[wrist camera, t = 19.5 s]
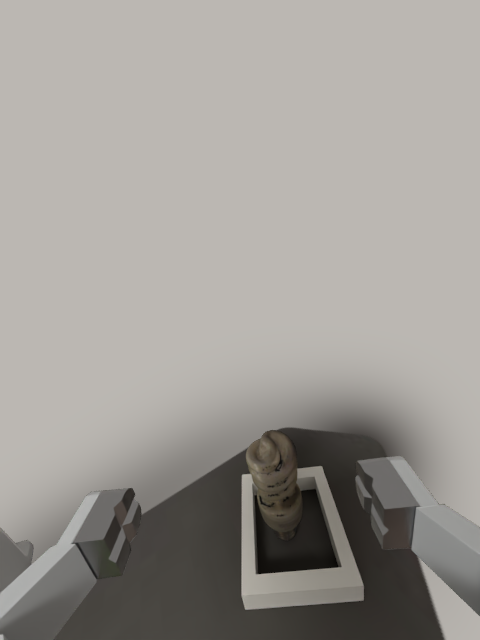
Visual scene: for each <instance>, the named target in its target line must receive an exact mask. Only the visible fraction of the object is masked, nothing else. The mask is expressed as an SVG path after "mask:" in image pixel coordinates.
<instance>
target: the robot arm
mask: <svg viewBox="0 0 480 640" xmlns="http://www.w3.org/2000/svg"><path fill="white" fill-rule="evenodd" d="M355 469H356V471H357V473H358V476H357V477H356V478H355V484H356V489H357V494H358V497H359V500H360V502H361V504H362V507H363V509H364V510H365V511H366V512H367V513H368V514H369V515H370V516H371V526H372V528H373V531H374V533H375V535H376V537H377V539H378V541H379V543H380V546H381V548H382V550H388V549H403V548H411V550H412V551H413V552H414V553H415V554H416V555H417V556H418V557H419V558H420V559H421V560H422V561H423V562H424V563H425V564H426V565H428V567H430V568H431V569H432V570H433V571H434V572H435V573H436V574H437V575H438V576H439V577H440V578H441V579H442V580H443V581H444V582H445V583H446V584H447V585H448V586H449V587H450V588H451V589H452V590H453V591H454V592H455V593H456V594H457V595H458V596H459V597H460V598H461V599H463V600H464V601H465V602H466V603H467V604H468V605H469V606H470V607H471V608H472V609H473V610H474V611H475V612H476V613H477V614H478V615H479V616H480V527H478V526H477V525H475V524H474V523H472V522H471V521H469V520H468V519H466V518H465V517H463V516H462V515H460V514H459V513H457V512H456V511H454V510H453V509H451V508H449V507H448V506H446V505H445V504H440V505H439V503H438V502H437V501H436V499H435V498H434V497H433V495H432V494H431V493H430V492H429V490H428V489H427V488H426V486H425V485H424V484H423V482H422V481H421V480H420V478H419V477H418V476H417V474H416V473H415V472H414V471H413V469H412V468H411V467H410V465H409V464H408V463H407V461H406V460H405V459H404V458H403V457H402V456H394V457H386V458H384V457H382V458H375V459H368V460H360V461H356V463H355ZM134 496H135V493H134V491H133V489H132V488H128V489H116V490H104V491H95V492H90V493H89V494H88V495H87V496H86V497H85V498H84V500H83V501H82V503H81V505H80V506H79V508H78V510H77V511H76V513H75V515H74V516H73V518H72V520H71V521H70V523H69V525H68V526H67V528H66V530H65V531H64V533H63V535H62V536H61V538H60V539H59V541H58V543H57V544H56V546H51V547H50V548H49V549H48V550H47V551H46V552H45V553H43V554H42V555H41V556H40V557H39V558H38V559H37V560H36V561H35V562H34V563H33V564H31V560H32V555H33V545H32V544H31V543H30V542H29V541H27V540H26V541H22V542H19V543H15V542H13V541H12V539H11V538H10V537H9V536H8V535H7V534H6V533H5V532H4V531H3V530H2V529H1V528H0V640H53V639H54V638H55V636H56V635H57V634H58V632H59V631H60V630H61V628H62V627H63V626H64V624H65V623H66V622H67V620H68V619H69V618H70V616H71V615H72V614H73V613H74V611H75V610H76V609H77V607H78V606H79V605H80V603H81V602H82V601H83V599H84V598H85V597H86V595H87V594H88V593H89V591H90V590H91V589H92V587H93V586H94V585H95V583H96V582H97V580H96V579H102V578H109V577H116V576H122V575H123V572H124V570H125V567H126V564H127V561H128V558H129V555H130V553H131V546H130V542H131V541H132V540H133V538H134V537H135V536H136V535H137V533H138V529H139V526H140V522H141V507H140V505H139V503H138V502H137V501H135V500H134Z"/></svg>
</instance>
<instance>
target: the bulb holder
mask: <svg viewBox="0 0 480 640" xmlns="http://www.w3.org/2000/svg"><path fill="white" fill-rule="evenodd" d="M296 483H297V484H298V485H299V487H300V490H301V491H302V490H312V489H316V492H317V496H318V499H319V503H320V506H321V509H322V513H323V516H324V520H325V523H326V526H327V530H328V533H329V537H330V540H331V543H332V547H333V550H334V554H335V557H336V561H337V564H338V568H326V569H315V570H303V571H291V572H280V573H268V574H258V559H257V537H256V516H255V495H257V491H258V488H257V487H256V485H255V484H254V482H253V480H252V475H251V474H245V475H242V599H243V603H244V606H245V610H249V609H262V608H275V607H288V606H301V605H314V604H327V603H340V602H353V601H364V585H363V582H362V579H361V576H360V574H359V571H358V568H357V565H356V562H355V559H354V557H353V554H352V551H351V548H350V545H349V542H348V539H347V537H346V534H345V531H344V528H343V525H342V522H341V519H340V517H339V514H338V511H337V508H336V505H335V502H334V500H333V497H332V494H331V491H330V488H329V485H328V482H327V480H326V477H325V474H324V471H323V468H322V466H317V467H308V468H299V469H297V482H296Z"/></svg>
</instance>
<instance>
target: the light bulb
mask: <svg viewBox="0 0 480 640" xmlns="http://www.w3.org/2000/svg"><path fill="white" fill-rule="evenodd" d="M246 461H247V464H248V468H249V471H250V473H251V475H252V480H253V482H254V484H255V485H256V487H257V488H258V491H257V499H258V505H259V508H260V512H261V515H262V517H263V519H264V521H265V522H266V524H267V525H268V526H269V527H271V528H272V529H274V532H275V534H276V536H277V537H278V538H279V539H282V540H284V541H287V540H291V539H292V538H293V537H294V536H295V534H296V530H297V529H296V526H297V525H298V524H299V522H300V520H301V517H302V512H303V507H302V495H301V490H300V487H299V485H298V484H297V483H296V482H297V452H296V448H295V445H294V443H293V442H292V440H291V439H290V438H289V437H288V436H287V435H285V434H284V433H282V432H280V431H276V430H270V431H267V432H265V433H264V434H263V435H262V438H261V439H258V440H256V441H254V442H253V443H252V444H251V445H250V446H249V448H248V450H247V453H246Z"/></svg>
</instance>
